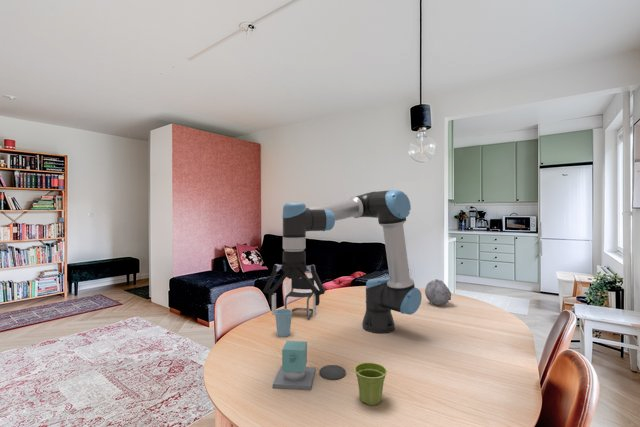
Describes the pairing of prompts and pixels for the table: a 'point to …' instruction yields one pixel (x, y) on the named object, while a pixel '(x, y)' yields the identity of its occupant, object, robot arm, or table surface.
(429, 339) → the table surface
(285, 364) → the teal cube with tab
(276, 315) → the cup
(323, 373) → the coaster
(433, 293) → the decorative orb
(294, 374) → the square plate with peg
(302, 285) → the chair
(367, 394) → the plant pot
